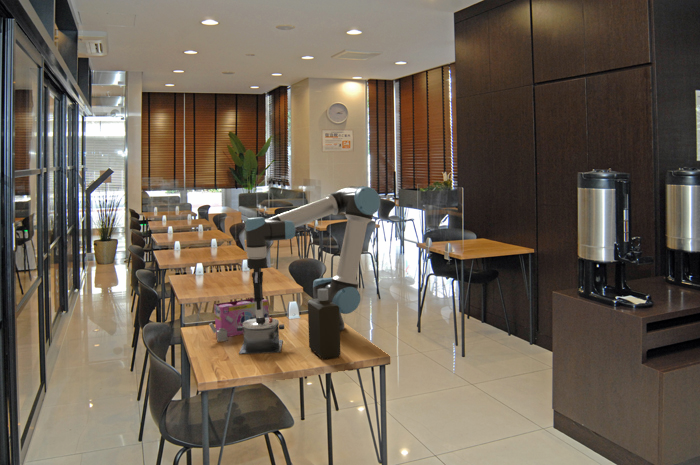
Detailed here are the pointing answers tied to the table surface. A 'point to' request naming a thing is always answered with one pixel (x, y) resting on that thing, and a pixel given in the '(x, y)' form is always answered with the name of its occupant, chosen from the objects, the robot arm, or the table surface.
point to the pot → (261, 340)
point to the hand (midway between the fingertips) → (259, 317)
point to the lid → (260, 323)
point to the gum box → (236, 314)
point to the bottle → (324, 326)
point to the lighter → (219, 333)
